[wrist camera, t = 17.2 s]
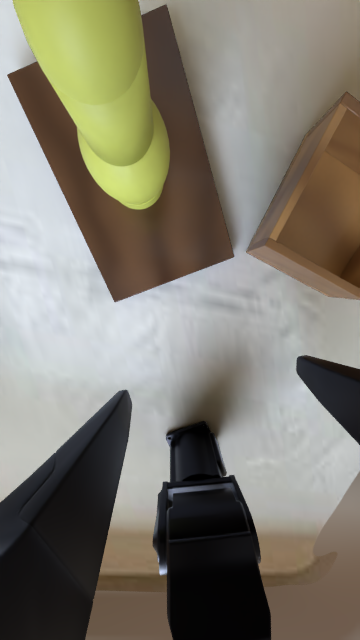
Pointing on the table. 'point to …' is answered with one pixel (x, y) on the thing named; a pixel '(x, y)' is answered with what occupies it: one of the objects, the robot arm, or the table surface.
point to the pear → (103, 90)
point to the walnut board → (178, 190)
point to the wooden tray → (319, 208)
